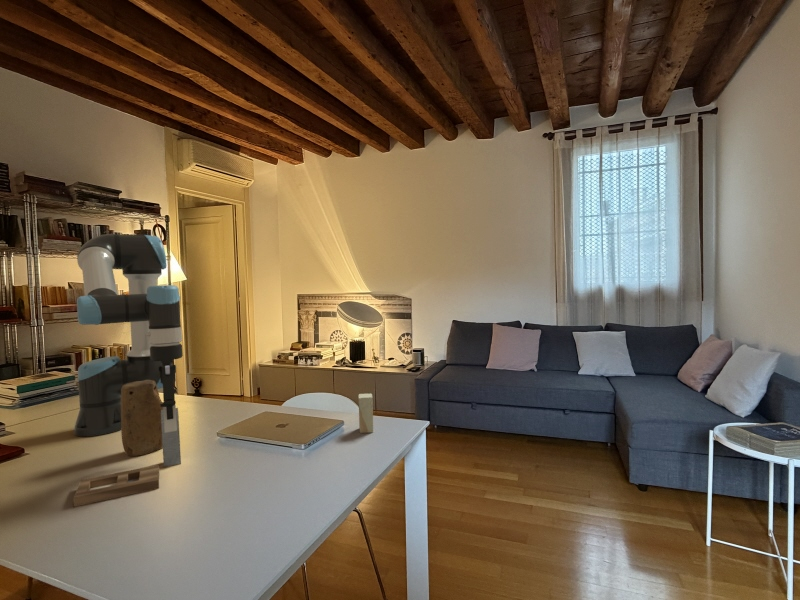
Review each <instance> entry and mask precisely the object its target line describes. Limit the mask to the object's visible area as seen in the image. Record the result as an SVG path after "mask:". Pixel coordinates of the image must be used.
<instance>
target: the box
mask: <svg viewBox="0 0 800 600" xmlns="http://www.w3.org/2000/svg"><path fill="white" fill-rule="evenodd" d="M373 406H374V403H373V394H372V393H359V394H358V419H359V420H358V421H359V423H358V424H359V434H367V433H374V416H373V415H374V410H373V409H374V408H373Z"/></svg>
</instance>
